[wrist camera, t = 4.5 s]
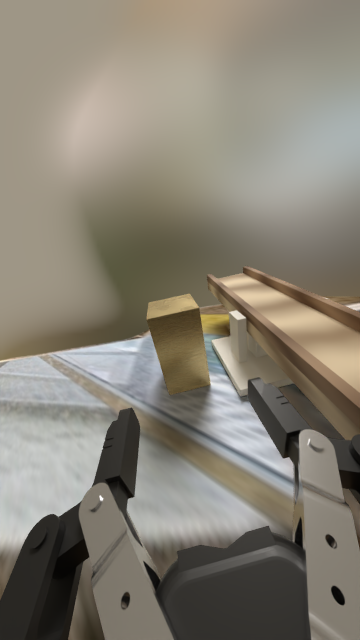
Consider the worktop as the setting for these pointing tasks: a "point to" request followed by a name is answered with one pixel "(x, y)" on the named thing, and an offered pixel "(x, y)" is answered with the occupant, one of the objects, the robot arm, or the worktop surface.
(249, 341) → the beam stand
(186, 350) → the block
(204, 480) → the worktop surface
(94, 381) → the worktop surface
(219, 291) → the balance beam
